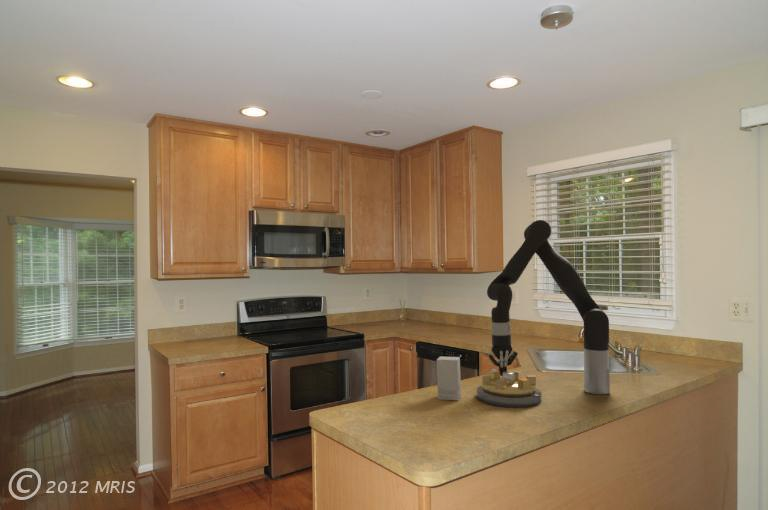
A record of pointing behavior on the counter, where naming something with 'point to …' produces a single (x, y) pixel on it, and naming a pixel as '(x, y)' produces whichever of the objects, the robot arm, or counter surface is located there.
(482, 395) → the housing
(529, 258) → the robot arm
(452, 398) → the skincare box
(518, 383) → the brass lugged disc
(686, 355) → the counter surface
